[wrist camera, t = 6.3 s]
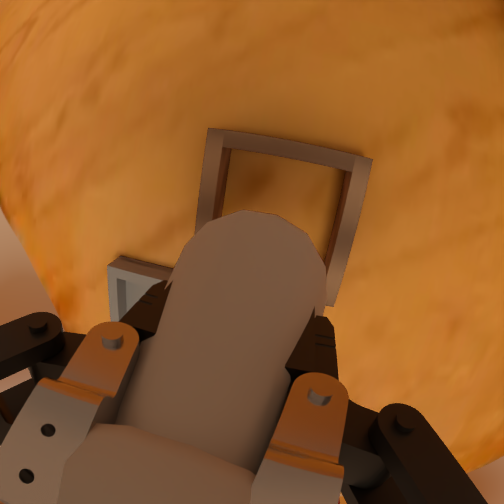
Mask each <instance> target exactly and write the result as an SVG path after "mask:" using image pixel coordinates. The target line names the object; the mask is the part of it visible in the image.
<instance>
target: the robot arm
mask: <svg viewBox="0 0 504 504" xmlns="http://www.w3.org/2000/svg"><path fill="white" fill-rule="evenodd" d="M167 282H168V281H167V280H163V281H161V282H159V283H156V284H154V285H152V286H151V287H150V288H149V290H148V291H147V292H146V293H145V295H143V296H142V297H141V298H140V299H139V301H137V302H136V303H135V304H134V305H133V306H132V307H131V309H130V310H129V311H128V312H127V313H126V314H125V315H124V316H123V317H122V318H121V319H120V320H119V321H118V322H114V321H112V322H104V323H100V324H98V325H96V326H94V327H93V328H92V329H91V330H90V331H89V332H88V334H87V335H86V334H77V333H70V332H63V328H62V323H61V320H60V319H59V318H58V317H57V316H55V315H53V314H51V313H48V312H37V313H32V314H29V315H27V316H24V317H21V318H19V319H16V320H14V321H11V322H9V323H6V324H3V325H1V326H0V380H1V379H4V378H6V377H8V376H10V375H12V374H15V373H17V372H19V371H21V370H23V369H26V368H28V369H29V371H30V374H31V377H32V378H31V379H29V380H27V381H25V382H22V383H20V384H18V385H16V386H14V387H12V388H10V389H8V390H5V391H3V392H1V393H0V504H57V501H58V495H59V489H60V483H61V478H62V473H63V468H64V464H65V461H66V460H67V459H68V458H69V457H70V456H71V455H72V454H73V453H74V451H75V450H76V449H77V448H78V447H79V446H80V445H81V444H82V442H83V441H84V440H85V438H86V436H87V435H88V433H89V432H90V431H91V429H92V428H93V427H94V426H95V425H96V424H97V423H102V424H114V425H115V422H116V419H117V416H118V411H119V408H120V405H121V403H122V400H123V397H124V395H125V392H126V390H127V387H128V384H129V382H130V379H131V377H132V374H133V372H134V369H135V366H136V364H137V361H138V358H139V355H140V344H141V342H142V341H144V340H146V339H148V338H150V337H152V336H154V335H155V334H156V332H157V329H158V326H159V322H160V319H161V316H162V313H163V310H164V307H165V303H166V300H167V297H168V294H169V291H170V288H171V285H172V282H173V281H172V282H171V283H170V284H169V285H168V286H167V287H166V285H167ZM165 287H166V289H165ZM164 289H165V290H164ZM335 347H336V344H335V333H334V327H333V325H332V324H331V322H330V321H329V320H328V318H327V317H323V316H318V315H316V317H315V306H314V309H313V311H312V314H311V317H310V319H309V321H308V323H307V325H306V327H305V329H304V331H303V333H302V335H301V336H300V338H299V340H298V342H297V344H296V346H295V348H294V350H293V351H292V353H291V355H290V357H289V359H288V361H287V362H286V364H285V368H286V370H287V371H288V373H289V374H290V379H291V382H290V384H289V387H288V390H287V395H286V400H285V404H284V409H283V411H282V414H281V417H280V419H279V422H278V424H277V427H276V429H275V432H274V434H273V437H272V439H271V442H270V444H269V446H268V449H267V451H266V454H265V456H264V458H263V461H262V463H261V465H260V467H259V470H258V472H257V474H256V477H255V479H254V481H253V484H252V486H251V488H252V489H251V499H250V504H338V501H339V496H340V492H341V493H342V495H343V497H344V499H345V501H346V503H347V504H488V503H487V502H486V500H485V499H484V498H483V496H482V495H481V493H480V492H479V491H478V489H477V488H476V487H475V485H474V484H473V482H472V481H471V480H470V478H469V477H468V475H467V474H466V473H465V471H464V470H463V468H462V467H461V466H460V464H459V463H458V462H457V460H456V459H455V458H454V456H453V455H452V453H451V452H450V451H449V449H448V448H447V447H446V445H445V444H444V443H443V441H442V440H441V439H440V437H439V436H438V435H437V433H436V432H435V431H434V430H433V428H432V427H431V426H430V424H429V423H428V422H427V420H426V419H425V418H424V416H423V415H422V414H421V413H420V412H419V411H418V410H416V409H415V408H413V407H411V406H408V405H405V404H400V403H394V404H389V405H387V406H385V407H384V408H383V409H382V410H381V411H380V412H379V413H378V412H375V411H372V410H370V409H367V408H364V407H362V406H360V405H357V404H356V403H354V402H352V401H351V400H350V399H349V396H348V392H347V390H346V388H345V386H344V385H343V384H342V383H341V382H340V381H339V380H338V367H337V355H336V349H335Z"/></svg>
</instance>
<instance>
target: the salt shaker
mask: <svg viewBox="0 0 504 504" xmlns="http://www.w3.org/2000/svg"><path fill="white" fill-rule="evenodd" d="M172 281H173V282H172ZM171 282H172V285H171V288H170V291H169V294H168V297H167V300H166V303H165V307H164V310H163V313H162V316H161V319H160V322H159V326H158V329H157V332H156V334H155V335H154V336H152V337H150V338H148V339H146V340H144V341H142V342H141V344H140V355H139V358H138V361H137V364H136V366H135V369H134V372H133V374H132V377H131V379H130V382H129V384H128V387H127V390H126V392H125V395H124V397H123V400H122V403H121V405H120V408H119V411H118V416H117V419H116V422H115V425H114V424H102V423H97V424H96V425H95V426H94V427H93V428H92V429H91V431H90V432H89V433H88V435H87V436H86V438H85V440H84V441H83V442H82V444H81V445H80V446H79V447H78V448H77V449H76V450H75V451H74V453H73V454H72V455H71V456H70V457H69V458H68V459H67V460H66V461H65V464H64V468H63V473H62V478H61V483H60V489H59V495H58V501H57V504H250V499H251V489H252V488H251V486H252V484H253V481H254V479H255V477H256V474H257V472H258V470H259V467H260V465H261V463H262V461H263V458H264V456H265V454H266V451H267V449H268V446H269V444H270V442H271V439H272V437H273V434H274V432H275V429H276V427H277V424H278V422H279V419H280V417H281V414H282V411H283V409H284V404H285V400H286V395H287V390H288V387H289V384H290V382H291V379H290V374H289V373H288V371H287V370H286V368H285V364H286V362H287V361H288V359H289V357H290V355H291V353H292V351H293V350H294V348H295V346H296V344H297V342H298V340H299V338H300V336H301V335H302V333H303V331H304V329H305V327H306V325H307V323H308V321H309V319H310V317H311V314H312V311H313V309H314V306H315V317H316V315H318V316H323V312H324V308H325V305H326V301H327V282H326V266H325V265H324V263H323V261H322V259H321V257H320V256H319V254H318V252H317V250H316V248H315V247H314V245H313V243H312V241H311V239H310V238H309V236H308V234H307V233H305V232H304V231H302V230H301V229H299V228H297V227H296V226H294V225H293V224H291V223H289V222H288V221H286V220H285V219H283V218H281V217H280V216H278V215H274V214H268V213H261V212H255V211H249V210H240V211H238V212H235V213H232V214H229V215H226V216H224V217H221V218H218V219H215V220H212V221H210V222H207V223H206V224H205V225H204V226H203V227H202V228H201V229H200V230H199V231H198V232H197V233H196V234H195V235H194V236H193V237H192V238H191V239H190V241H189V242H188V243H187V244H186V245H185V247H184V249H183V251H182V253H181V255H180V257H179V259H178V261H177V263H176V265H175V267H174V270H173V272H172V274H171V276H170V278H169V280H168V282H167V285H166V287H167V286H168V285H169V284H170V283H171ZM166 287H165V289H166ZM165 289H164V290H165Z"/></svg>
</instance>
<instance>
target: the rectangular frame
mask: <svg viewBox="0 0 504 504" xmlns="http://www.w3.org/2000/svg"><path fill="white" fill-rule="evenodd" d="M231 148H233V149H240V150H246V151H252V152H258V153H264V154H270V155H275V156H280V157H286V158H291V159H296V160H301V161H306V162H310V163H315V164H320V165H324V166H329V167H333V168H337V169H342V170H346V173H345V178H344V183H343V187H342V192H341V196H340V201H339V205H338V209H337V213H336V218H335V222H334V226H333V230H332V234H331V238H330V242H329V246H328V250H327V254H326V258H325V261H324V265H325V266H326V282H327V301H326V306H331V307H334V304H335V301H336V298H337V294H338V291H339V288H340V285H341V282H342V278H343V275H344V272H345V268H346V265H347V261H348V258H349V254H350V251H351V247H352V243H353V240H354V236H355V232H356V229H357V225H358V221H359V217H360V213H361V209H362V205H363V201H364V197H365V192H366V188H367V184H368V179H369V175H370V170H371V165H372V161H373V159H370V158H366V157H363V156H359V155H355V154H351V153H347V152H342V151H338V150H334V149H330V148H325V147H321V146H316V145H311V144H306V143H301V142H296V141H291V140H286V139H280V138H275V137H269V136H263V135H257V134H251V133H244V132H237V131H230V130H223V129H214V128H208V132H207V139H206V146H205V153H204V160H203V168H202V175H201V183H200V191H199V199H198V208H197V217H196V226H195V234H196V233H197V232H198V231H199V230H200V229H201V228H202V227H203V226H204V225H205V224H206V223H207V222H210V221H212V220H215V219H218V218H221V216H222V209H223V202H224V195H225V188H226V181H227V174H228V167H229V161H230V154H231Z"/></svg>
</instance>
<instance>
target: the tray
mask: <svg viewBox="0 0 504 504" xmlns="http://www.w3.org/2000/svg"><path fill="white" fill-rule="evenodd" d="M173 270H174V269H172V268H168V267H164V266H160V265H156V264H151V263H147V262H143V261H139V260H135V259H131V258H127V257H124V256H120V257H118V258H117V259H116V260H114V261H113V262H112V263H110V264H109V265H107V272H108V291H109V305H110V317H111V322H112V321H114V322H118V321H119V320H120V319H121V318H122V317H123V316H124V315H125V314H126V313H127V312H128V311H129V310H130V309H131V307H132V306H133V305H134V304H135V303H136V302H137V301H139V299H140V298H141V297H142V296H143V295H145V293H146V292H147V291H148V290H149V288H150V287H151V286H152V285H154V284H156V283H159V282H161V281H163V280H167V281H168V280H169V278H170V276H171V274H172V272H173Z"/></svg>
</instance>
